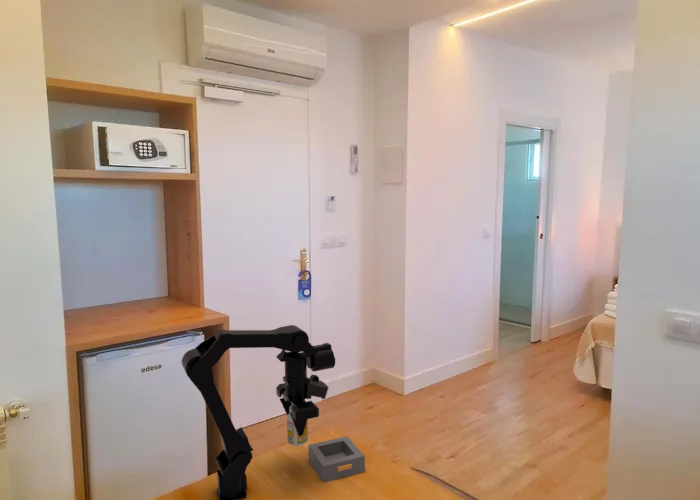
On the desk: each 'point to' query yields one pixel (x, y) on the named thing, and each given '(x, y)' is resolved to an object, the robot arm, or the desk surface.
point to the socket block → (336, 458)
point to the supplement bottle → (295, 432)
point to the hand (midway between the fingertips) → (297, 430)
